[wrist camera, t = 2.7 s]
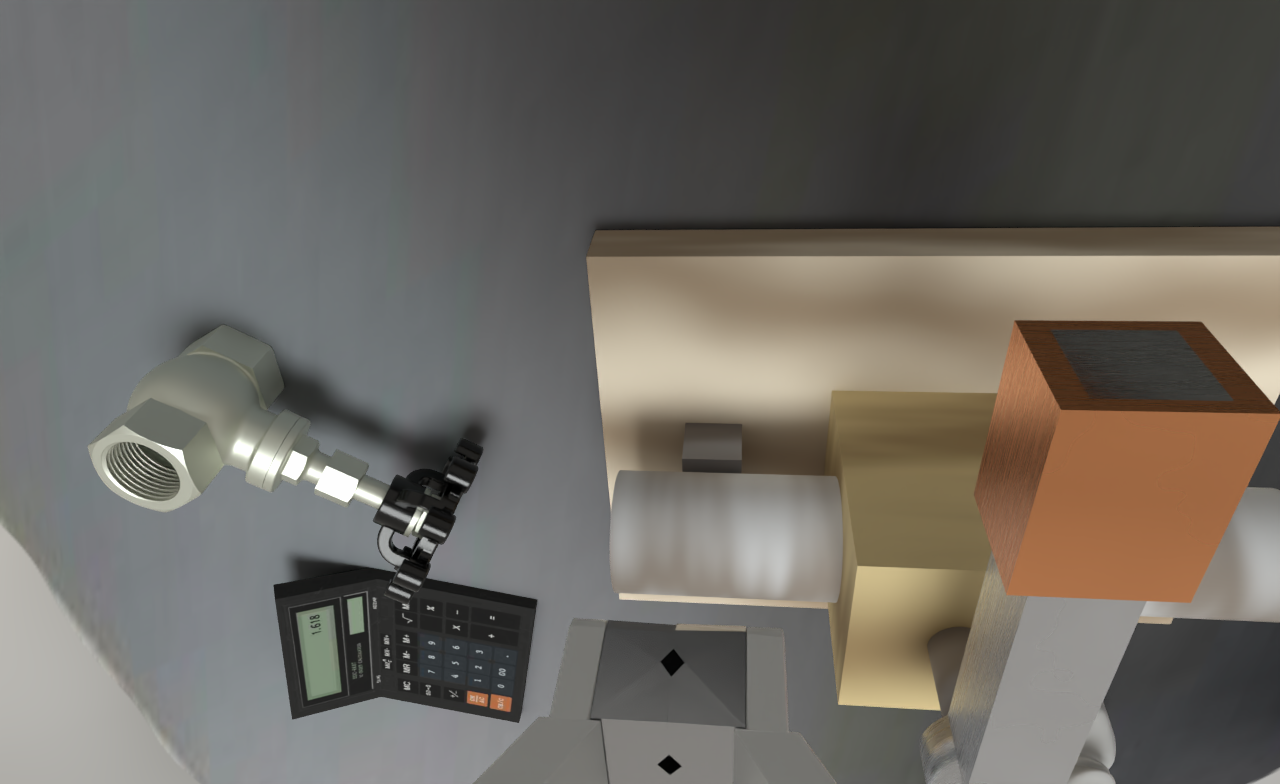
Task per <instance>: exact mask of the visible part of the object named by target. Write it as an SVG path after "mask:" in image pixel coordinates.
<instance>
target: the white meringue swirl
mask: <svg viewBox="0 0 1280 784" xmlns="http://www.w3.org/2000/svg"><path fill="white" fill-rule="evenodd" d="M1115 753H1116V745H1115V737H1114V733H1113V729H1112V727H1111V723H1110V720H1109V717H1108V714H1107V712H1106V709H1105V706H1104V703H1103V702H1102V705H1101V707H1100V709H1099V712H1098V714H1097V716H1096V718H1095V721H1094V723H1093V725H1092V728H1091V730H1090V732H1089V734H1088V737H1087V739H1086V741H1085V744H1084V746H1083V748H1082V750H1081V753H1080V755H1079V757H1078V760H1077V762H1076V764H1075V766H1074V769H1073V771H1072V773H1071V776H1070V778H1069V780H1068V782H1067V784H1116V783H1115V780H1114V778H1113V776H1112V775H1111V774H1110V772H1109V770H1108V769H1109V768H1110V767H1111V766H1112V764H1113V762H1114V759H1115Z"/></svg>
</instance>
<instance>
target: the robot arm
mask: <svg viewBox="0 0 1280 784" xmlns="http://www.w3.org/2000/svg"><path fill="white" fill-rule="evenodd" d="M473 784H837V783H836V782H835V780H834V779H833V777H832V776H831V775H830V773H829V772H828V771H827V769H826V768H825V766H824V765H823V764H822V762H821V761H820V760H819V758H818V757H817V756H816V754H815V753H814V751H813V750H812V749H811V747H810V746H809V745H808V743H807V742H806V740H805V739H804V738H803V736H802V735H801V734H800V733H797V732H789V721H788V701H787V681H786V661H785V640H784V633H783V630H782V629H781V628H760V627H747V628H745V626H725V625H695V624H677V625H668V624H654V623H641V622H627V621H613V620H595V619H578V618H574V619H573V621H572V623H571V625H570V627H569V630H568V634H567V639H566V643H565V648H564V652H563V657H562V661H561V666H560V670H559V675H558V679H557V684H556V688H555V693H554V697H553V702H552V706H551V711H550V715H549V717H538V718H537V719H536V720H535V721H534V722H533V723H532V724H531V725H530V726H529V727H528V728H527V729H526V730H525V731H524V732H523V733H522V734H521V735H520V737H519V738H518V739H517V740H516V741H515V742H514V743H513V744H512V745H511V746H510V747H509V748H508V749H507V750H506V751H505V752H504V753H503V754H502V755H501V756H500V757H499V758H498V759H497V760H496V761H495V762H494V763H493V764H492V765H491V766H490V767H489V768H488V769H487V770H486V771H485V772H484V773H483V774H482V775H481V776H480V777H479V778H478V779H477V780H476V781H475V782H474V783H473Z"/></svg>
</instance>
